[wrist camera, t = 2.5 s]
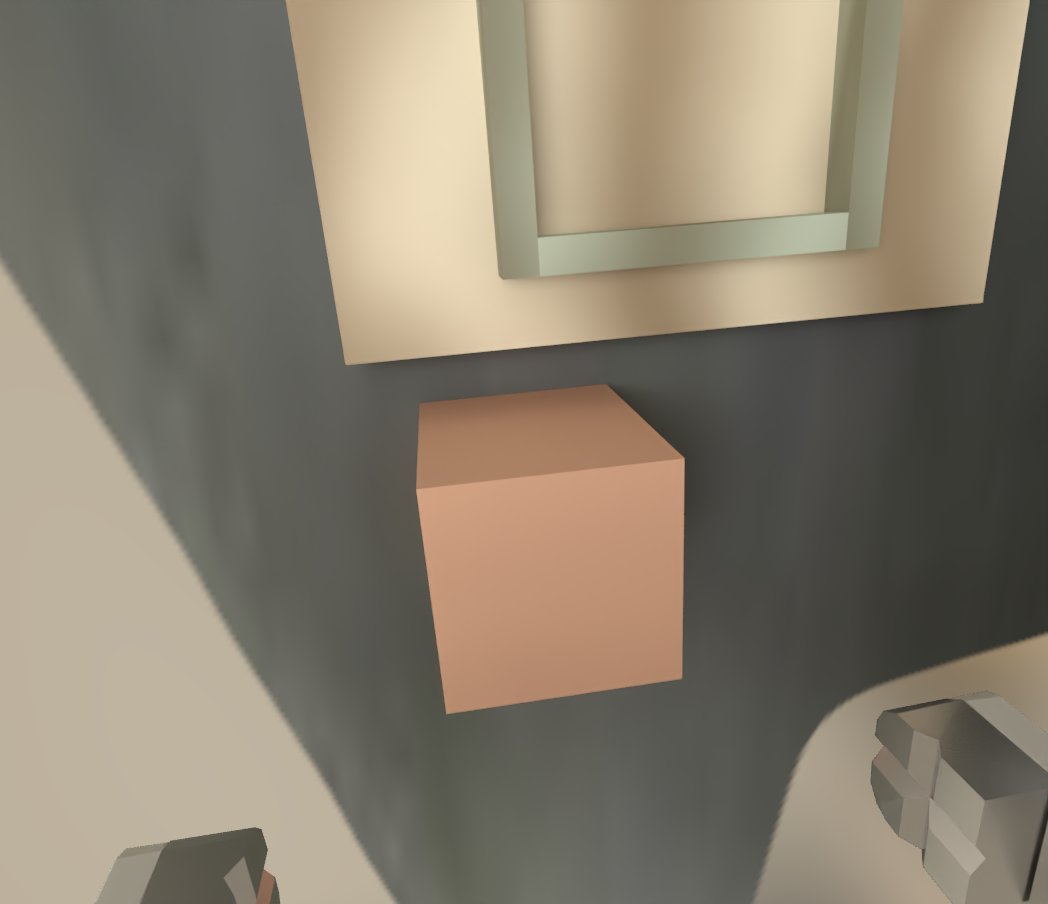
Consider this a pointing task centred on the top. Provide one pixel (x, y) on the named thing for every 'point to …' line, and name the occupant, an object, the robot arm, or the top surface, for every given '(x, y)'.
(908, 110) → the build board
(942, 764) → the robot arm
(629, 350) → the top surface
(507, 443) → the block
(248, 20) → the top surface
